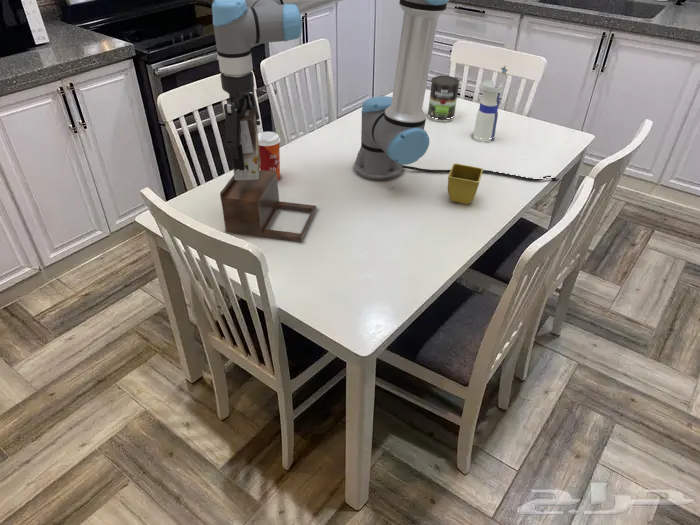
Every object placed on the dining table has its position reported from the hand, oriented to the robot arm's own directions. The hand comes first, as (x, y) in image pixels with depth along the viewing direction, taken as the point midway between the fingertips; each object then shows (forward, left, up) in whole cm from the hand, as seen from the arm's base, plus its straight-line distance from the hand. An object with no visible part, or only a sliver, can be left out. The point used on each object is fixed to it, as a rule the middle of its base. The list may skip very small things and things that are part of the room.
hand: (246, 158), depth 138 cm
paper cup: (+2, -23, -19) cm, 30 cm away
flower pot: (-57, -23, -19) cm, 64 cm away
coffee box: (0, 0, -4) cm, 4 cm away
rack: (-5, 0, -18) cm, 19 cm away
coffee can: (-47, -83, -19) cm, 97 cm away
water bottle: (-63, -68, -19) cm, 94 cm away
